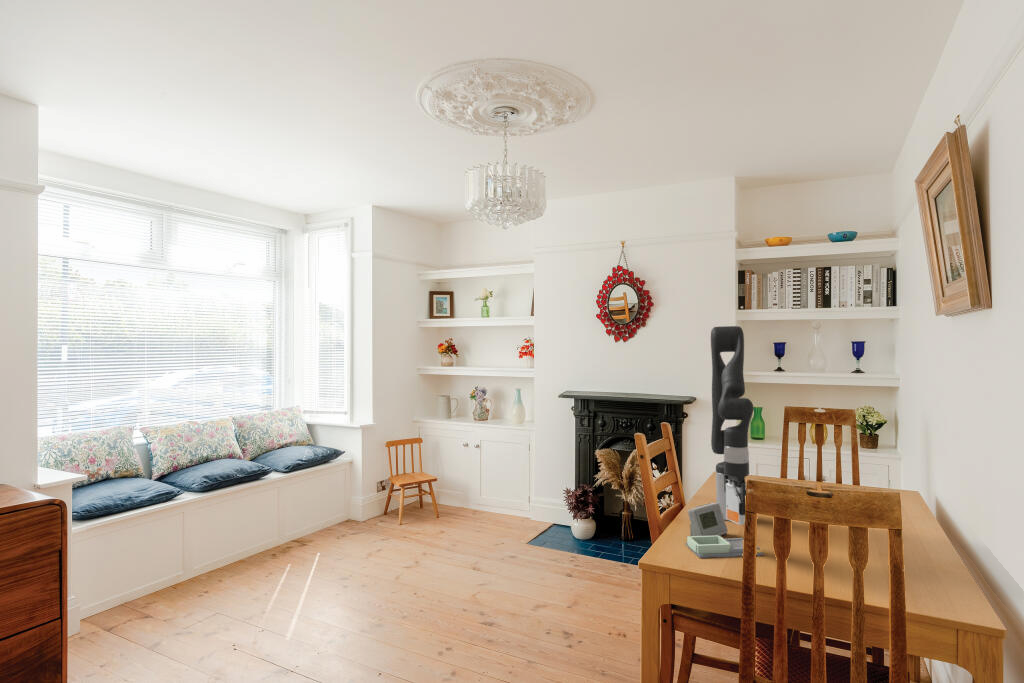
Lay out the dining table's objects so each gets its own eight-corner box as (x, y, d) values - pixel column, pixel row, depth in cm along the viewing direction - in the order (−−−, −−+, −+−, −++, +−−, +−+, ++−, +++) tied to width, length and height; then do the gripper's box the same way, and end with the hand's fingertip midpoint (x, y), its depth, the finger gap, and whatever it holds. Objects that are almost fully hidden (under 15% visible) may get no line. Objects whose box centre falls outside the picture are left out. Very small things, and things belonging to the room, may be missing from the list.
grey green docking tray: (684, 545, 191) (684, 535, 191) (745, 542, 192) (745, 532, 192) (699, 558, 179) (699, 547, 179) (763, 555, 180) (763, 545, 180)
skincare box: (725, 520, 188) (724, 483, 188) (735, 518, 190) (734, 481, 190) (739, 525, 182) (739, 487, 182) (750, 523, 184) (749, 485, 184)
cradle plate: (723, 543, 189) (723, 540, 189) (743, 542, 189) (743, 540, 189) (732, 550, 182) (732, 547, 182) (752, 549, 183) (752, 547, 183)
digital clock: (698, 544, 191) (697, 512, 192) (680, 536, 200) (679, 505, 200) (735, 537, 198) (734, 506, 198) (716, 530, 206) (715, 500, 206)
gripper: (758, 464, 179) (759, 517, 179) (737, 455, 193) (738, 504, 194) (735, 465, 179) (736, 518, 179) (715, 455, 193) (716, 505, 193)
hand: (737, 511), depth 186 cm, fingers closed on skincare box, 7 cm apart
